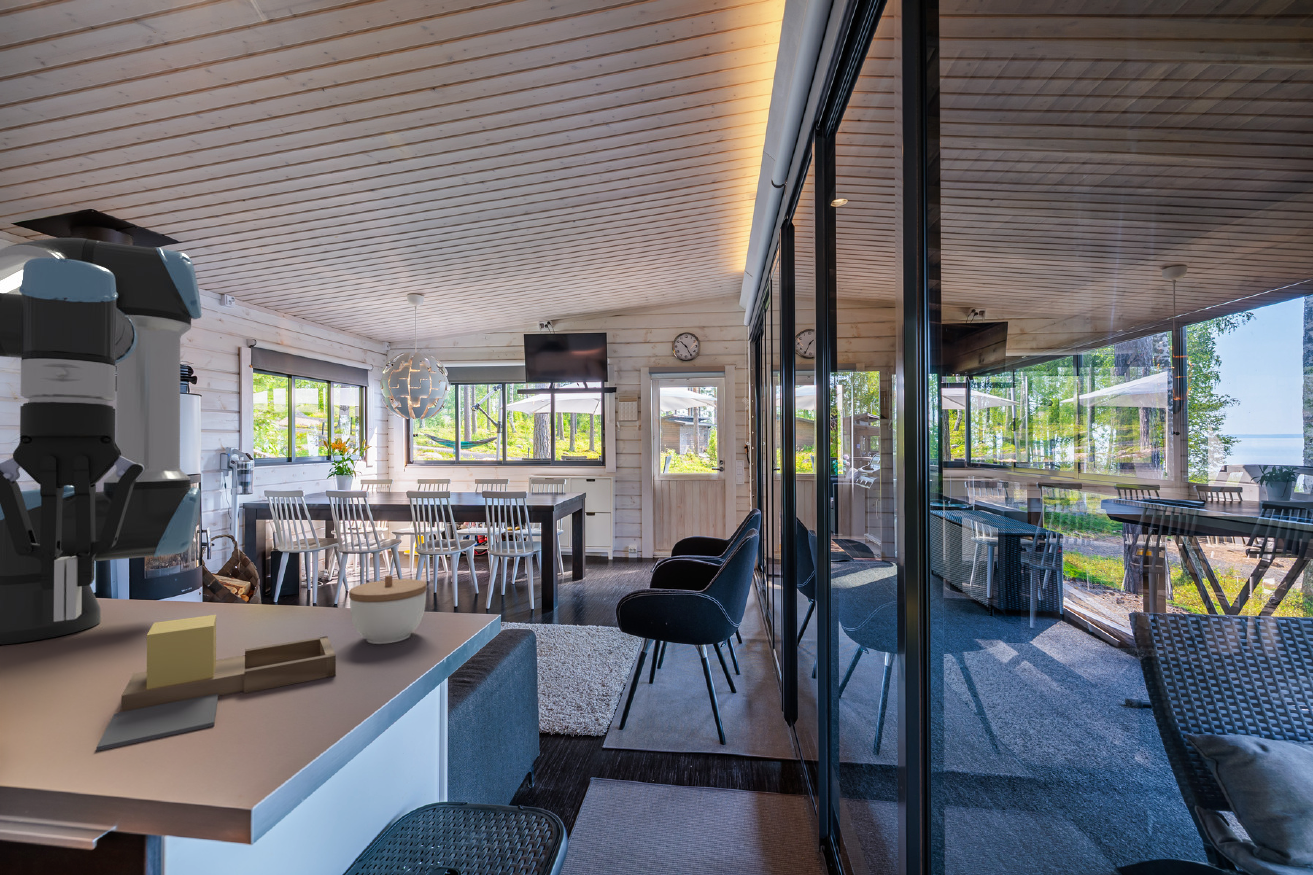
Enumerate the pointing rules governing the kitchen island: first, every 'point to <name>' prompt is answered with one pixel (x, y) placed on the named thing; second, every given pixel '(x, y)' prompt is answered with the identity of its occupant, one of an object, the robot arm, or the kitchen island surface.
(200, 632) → the block
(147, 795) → the kitchen island surface
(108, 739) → the mat
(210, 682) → the brown tray
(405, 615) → the lidded jar
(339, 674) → the kitchen island surface
